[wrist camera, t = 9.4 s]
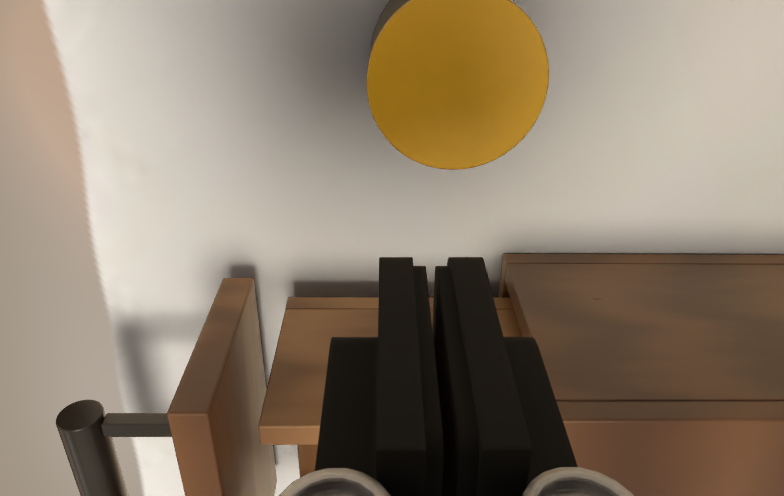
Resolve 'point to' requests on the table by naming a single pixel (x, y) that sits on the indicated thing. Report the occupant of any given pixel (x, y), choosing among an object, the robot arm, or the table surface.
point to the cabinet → (662, 365)
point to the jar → (456, 79)
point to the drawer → (235, 397)
